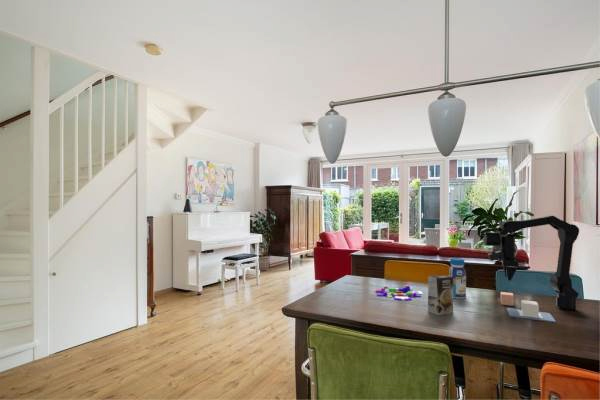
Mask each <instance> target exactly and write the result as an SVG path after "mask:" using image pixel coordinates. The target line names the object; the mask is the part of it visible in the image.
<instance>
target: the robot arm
mask: <svg viewBox="0 0 600 400" xmlns="http://www.w3.org/2000/svg"><path fill="white" fill-rule="evenodd" d="M547 225H549V226H551V227H552V229H554V230H556V231H557V237H558V239H559V249H558V256H557V257H558V258H557V264H556V265H557V266H556V272H555V273H554V274H550V280H549V283H550V286H551V288H552V289H553V290H555V293H556V297H555V306H556V308H558V309H559V310H564V311H573V312H577V311H578V309H577V300H576V299H577V298H578V297H579V292H577V291H576V290H575V289H574V288H573V281H572V278H571V275H570V271H571V270H570V269H571V263H572V256H573V246H574V243H575V242H576V241H577V239H578V238H579V233H580V228H579V227H578V225H576V224H572V223H569V222H567V221H565V220H562V219H560V218H558V217H556V216H555V215H546V216H541V217H540V216H539V217H535V218H528V219H523V220H503V221H500V223H499V227H498V228H497V229H496V230H495V232H493V231H492V232H490V231H485V232H484V235H483V238H482V242H483V245H484V246H487V247H488V246H489V247H499V245H500V248H499V250H497V251H491V252H489V253H487V256H488V258H489V260H490V261H491V262H492V261H495V260H498V263H499V264H500V265H501V266H502V268H503V272H504V276H505V278H507V280H508V281H511V280H513V277H514V275H515V273H516V271H517V270H518V268H519V266H520V265H519V262H518V261H517V258H516V240H515V239H516V238H520V237H521V236H520V235H519V234H518V233H517V232H519V231H521V230H523V229H528V228H534V227H535V228H536V227H540V226H547Z"/></svg>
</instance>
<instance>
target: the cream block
mask: <svg viewBox="0 0 600 400" xmlns="http://www.w3.org/2000/svg"><path fill="white" fill-rule="evenodd" d="M539 307H540V306H539V303H538V302H537V301H533V300H525V299H521V300H520V308H521V309H520V310H521V312H522V314H523V315H529V316H537V317H539V312H540V311H539Z"/></svg>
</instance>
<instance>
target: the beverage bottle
mask: <svg viewBox="0 0 600 400" xmlns="http://www.w3.org/2000/svg"><path fill="white" fill-rule="evenodd" d="M449 265H451V266H450V267H449V269H448V273H449V274H448V276H451V277H453V299H458V300H459V299H461V300H463V299H466V298H467V275H466V274H467V271H466V269H465V267H464V266H465V259H464V258H461V257H451V258H450V260H449Z"/></svg>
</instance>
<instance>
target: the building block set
mask: <svg viewBox="0 0 600 400" xmlns="http://www.w3.org/2000/svg"><path fill="white" fill-rule="evenodd" d="M380 288H381V289H375V293H377V294H376V296H377V297H387V298H393V297H394V298H393V299H394V301H405V302H406V301H412V298H422V296H423V295H424V293H423V292H422V291H421V290H414V288H413V287H411V286H410V285H408V284H405V285H404V286H403V287H398V288H397V287H388V286H384V287H380Z"/></svg>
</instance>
